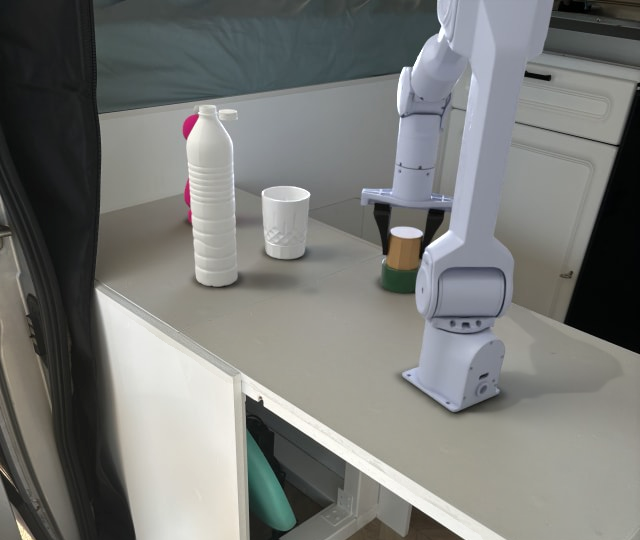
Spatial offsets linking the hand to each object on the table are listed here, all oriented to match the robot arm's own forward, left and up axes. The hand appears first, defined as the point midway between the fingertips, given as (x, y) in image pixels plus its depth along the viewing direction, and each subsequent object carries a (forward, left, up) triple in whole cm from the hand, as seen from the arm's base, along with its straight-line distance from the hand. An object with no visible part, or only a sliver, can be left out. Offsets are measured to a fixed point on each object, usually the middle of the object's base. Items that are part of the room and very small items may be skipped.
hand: (403, 255), depth 101 cm
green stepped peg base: (0, 0, -5) cm, 5 cm away
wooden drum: (0, 0, -1) cm, 1 cm away
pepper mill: (+40, +14, -5) cm, 43 cm away
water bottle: (+15, +24, -5) cm, 29 cm away
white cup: (+20, +9, -5) cm, 22 cm away
